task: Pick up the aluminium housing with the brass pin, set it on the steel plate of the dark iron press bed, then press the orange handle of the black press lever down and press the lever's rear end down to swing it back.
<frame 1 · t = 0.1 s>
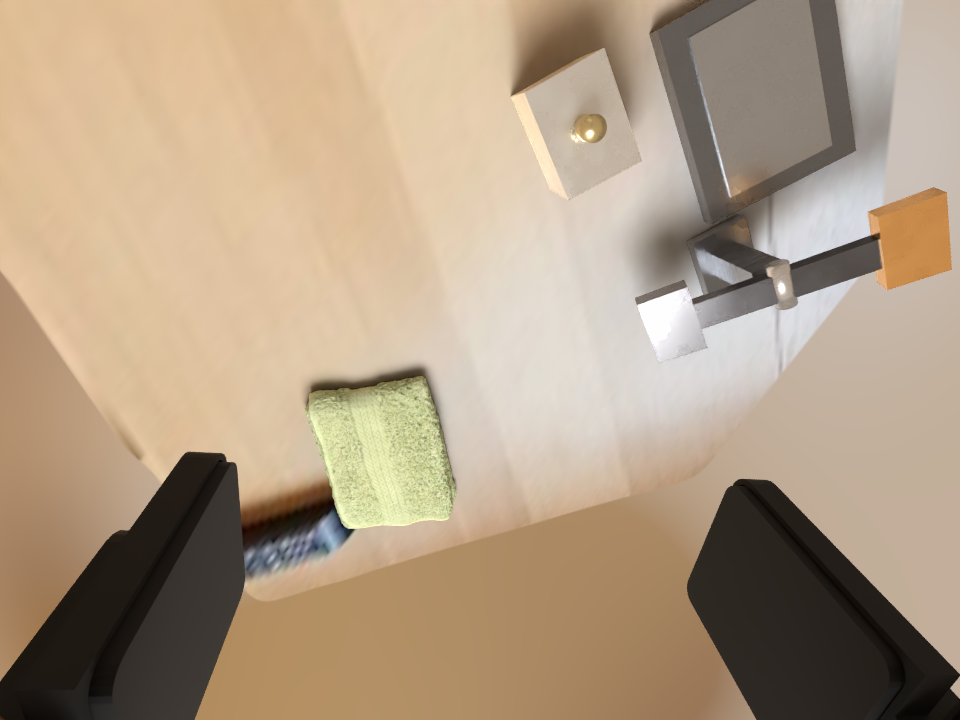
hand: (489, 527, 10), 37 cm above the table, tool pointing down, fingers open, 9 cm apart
housing: (564, 127, 41), on the table
press bed: (732, 170, 44), on the table
press lever: (781, 284, 39), point 9 cm above the table, hinge at 15.0°
washcloth: (387, 449, 54), on the table
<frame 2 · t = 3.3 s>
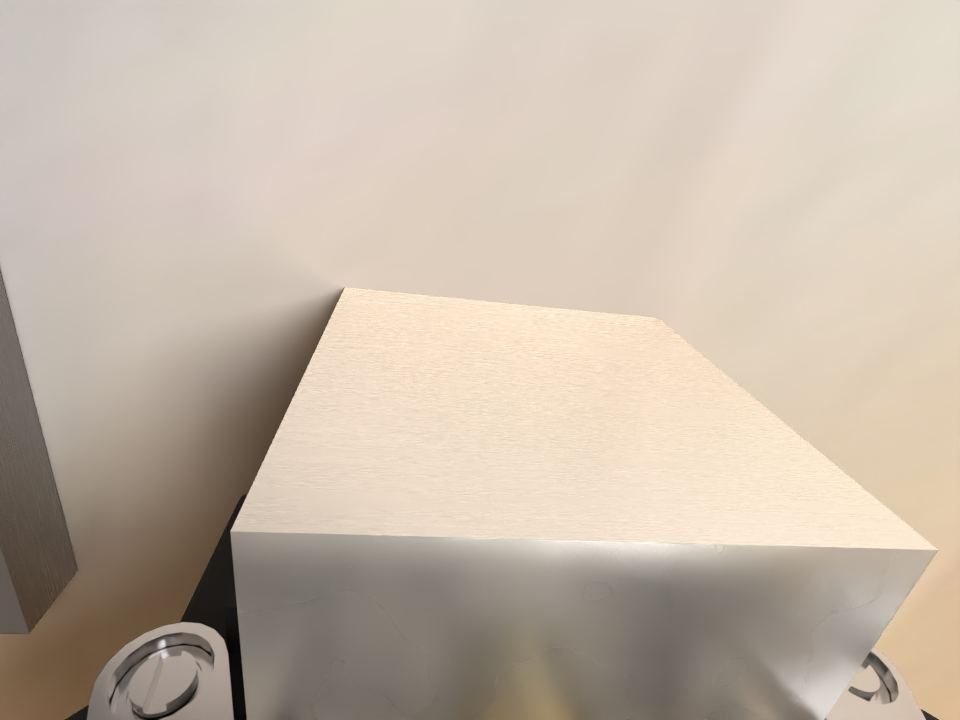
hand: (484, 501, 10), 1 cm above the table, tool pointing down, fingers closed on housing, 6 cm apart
housing: (480, 475, 11), on the table, touching gripper
when the fingers open (3 cm above the table, at t = 9.2 s): housing stays where it is, resting on press bed.
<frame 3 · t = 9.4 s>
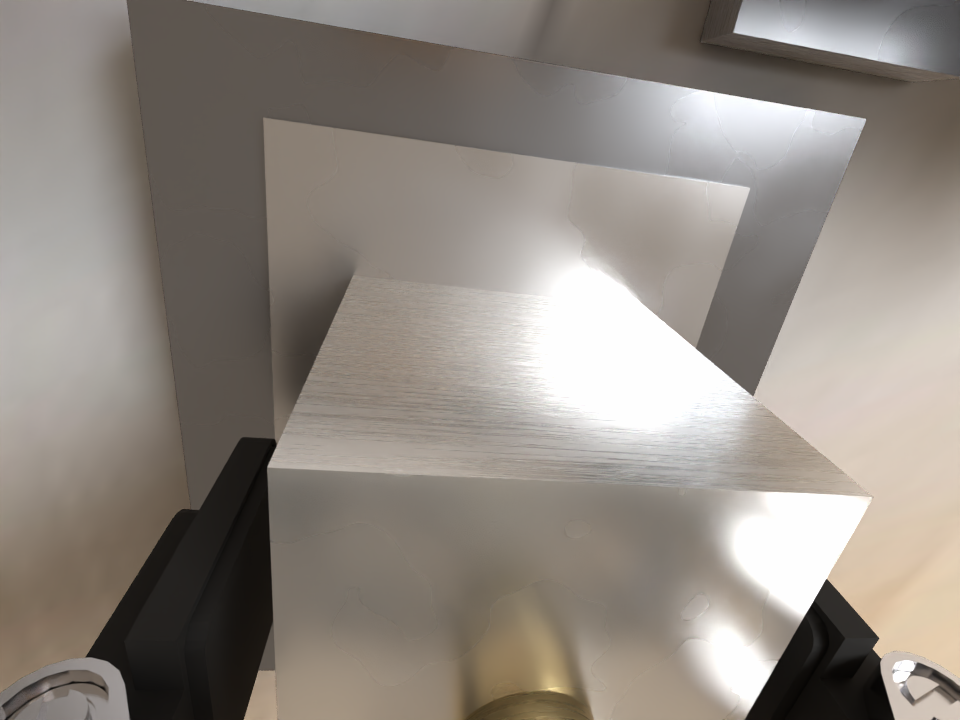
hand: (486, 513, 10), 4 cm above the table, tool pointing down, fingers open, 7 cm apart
housing: (478, 455, 12), point 2 cm above the table, touching press bed
press bed: (626, 238, 12), on the table
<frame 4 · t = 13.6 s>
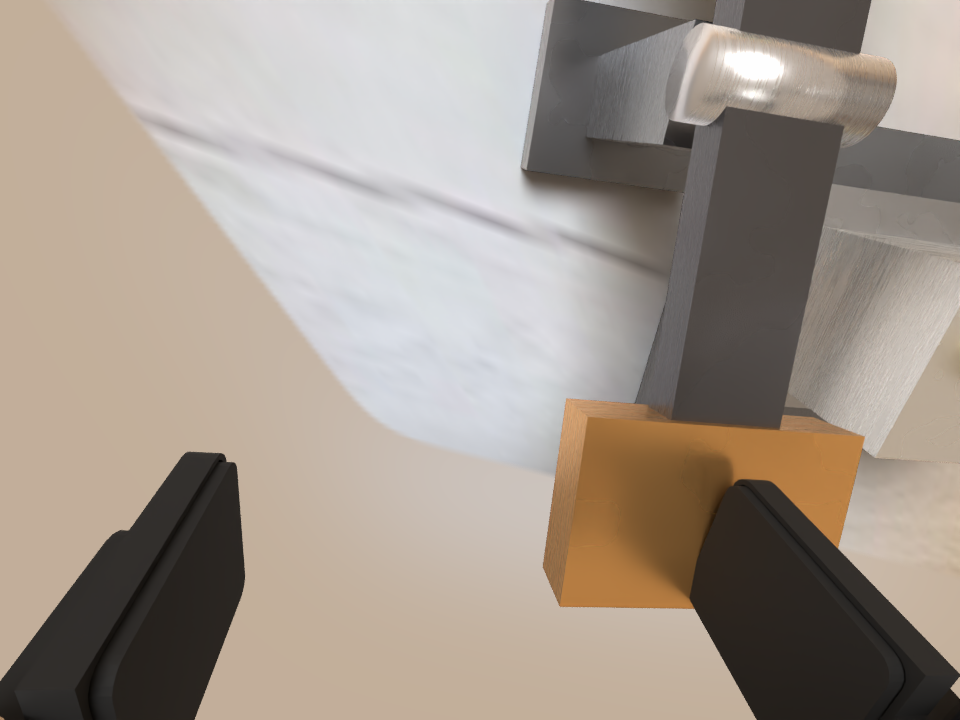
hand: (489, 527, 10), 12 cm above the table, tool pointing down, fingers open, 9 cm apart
housing: (877, 313, 20), point 2 cm above the table, touching press bed
press bed: (765, 215, 20), on the table
press lever: (774, 89, 10), point 9 cm above the table, hinge at 15.0°, touching gripper
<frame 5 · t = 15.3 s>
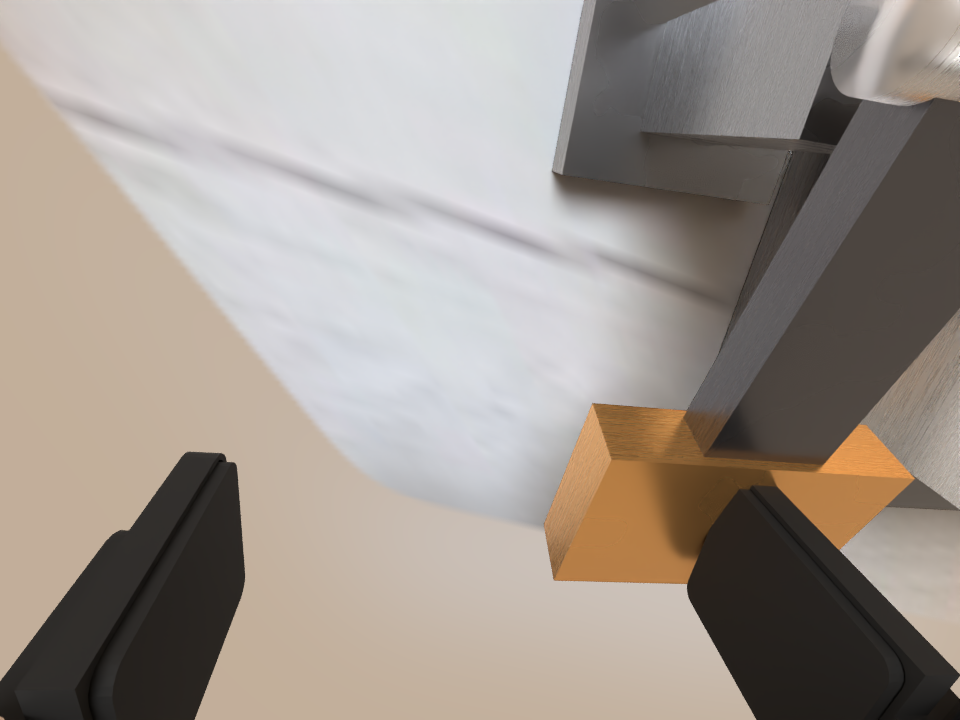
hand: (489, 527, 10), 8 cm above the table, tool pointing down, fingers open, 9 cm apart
press bed: (854, 232, 16), on the table
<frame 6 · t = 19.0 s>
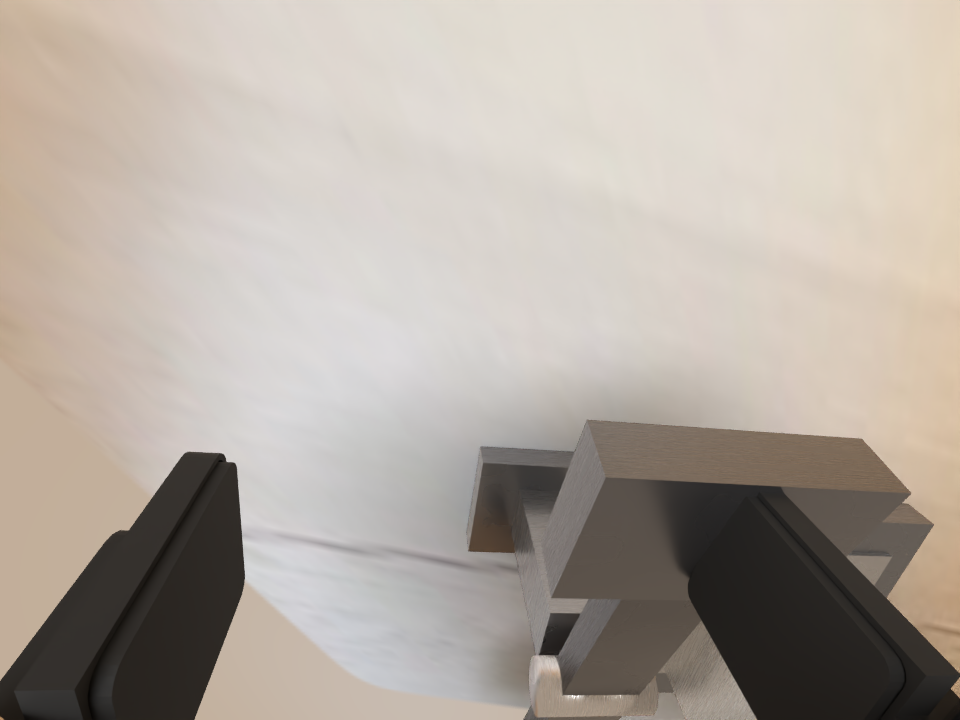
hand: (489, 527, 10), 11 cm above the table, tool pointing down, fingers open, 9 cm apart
housing: (745, 616, 26), point 2 cm above the table, touching press bed
press bed: (657, 546, 26), on the table
press lever: (591, 685, 16), point 9 cm above the table, hinge at -12.2°, touching gripper
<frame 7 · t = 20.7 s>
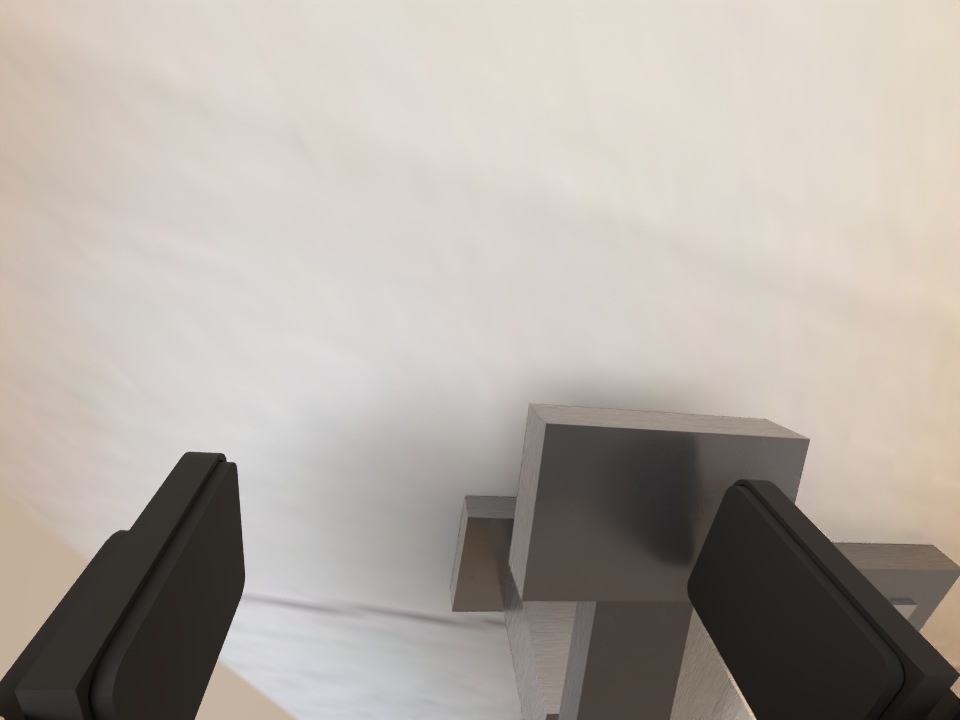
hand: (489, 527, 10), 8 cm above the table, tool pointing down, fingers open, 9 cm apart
housing: (757, 670, 24), point 2 cm above the table, touching press bed
press bed: (661, 596, 24), on the table
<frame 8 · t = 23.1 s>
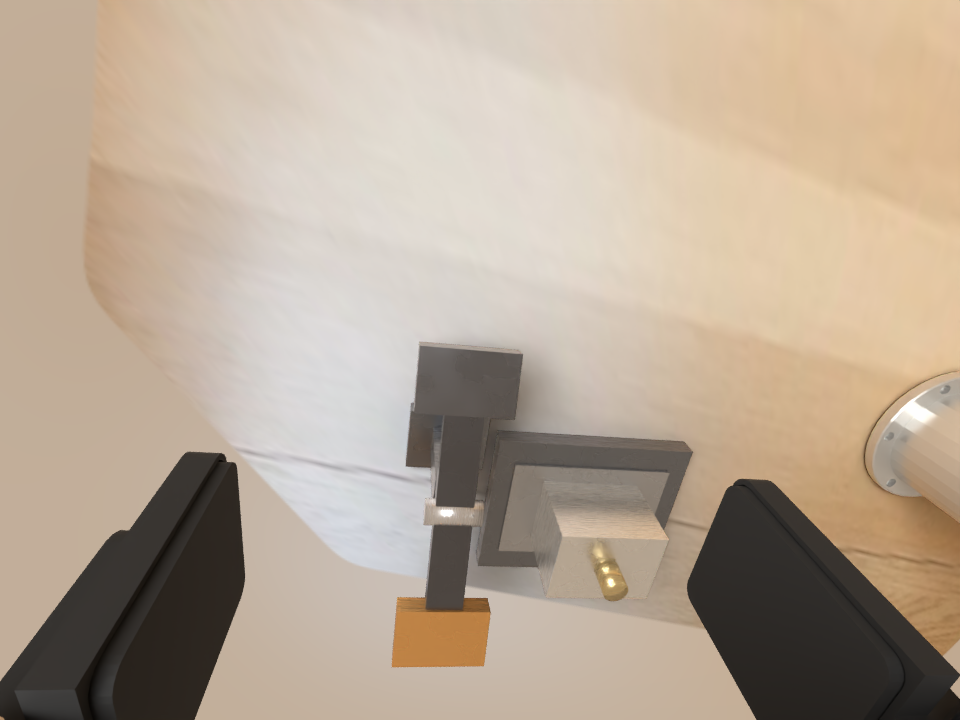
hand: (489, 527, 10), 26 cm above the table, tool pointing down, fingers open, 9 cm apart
housing: (583, 512, 42), point 2 cm above the table, touching press bed
press bed: (526, 468, 42), on the table
press lever: (453, 512, 32), point 9 cm above the table, hinge at 13.9°
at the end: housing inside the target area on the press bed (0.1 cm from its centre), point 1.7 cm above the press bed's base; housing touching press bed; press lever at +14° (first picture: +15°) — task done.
